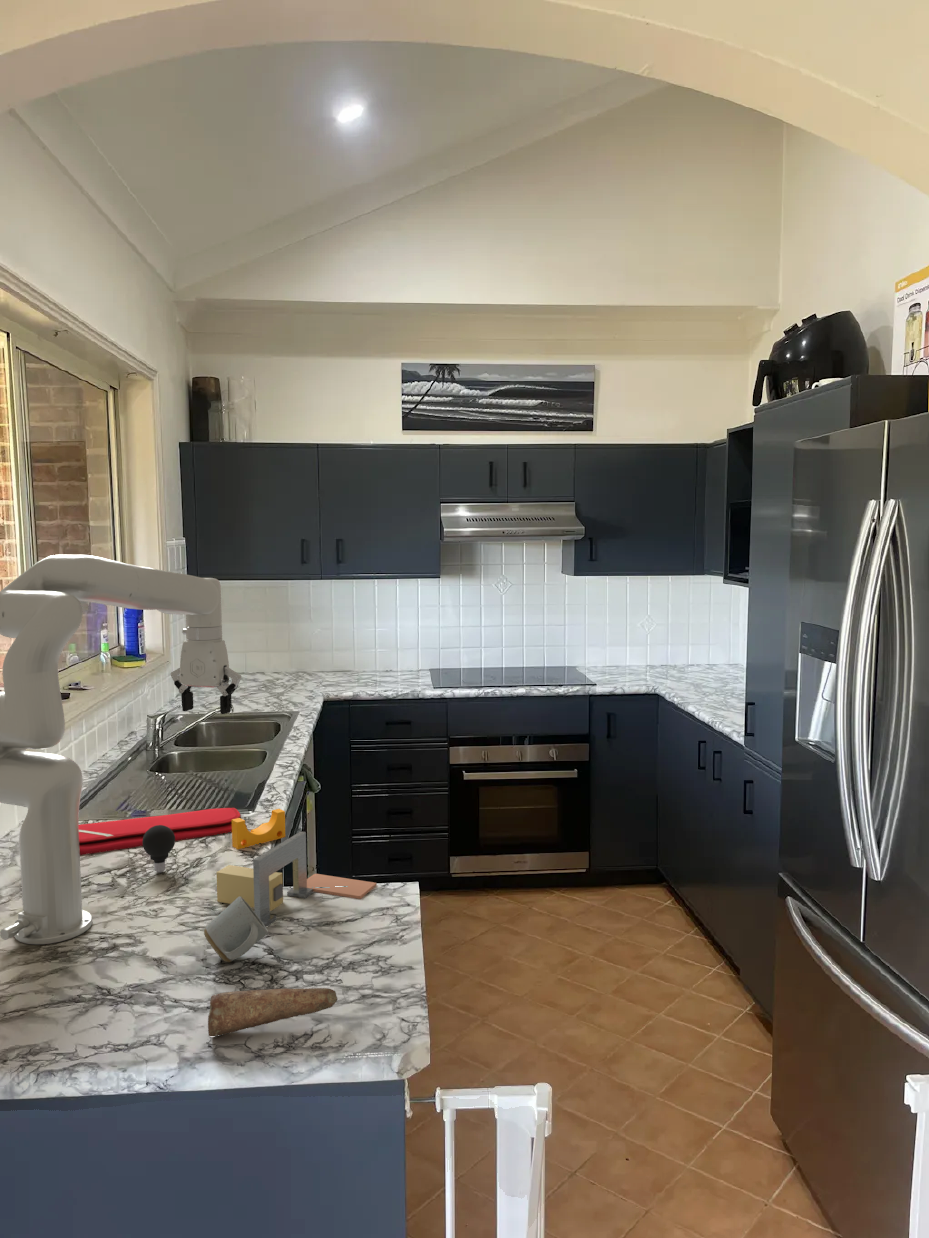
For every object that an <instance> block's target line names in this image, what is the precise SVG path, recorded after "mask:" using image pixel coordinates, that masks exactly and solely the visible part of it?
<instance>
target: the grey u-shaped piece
mask: <svg viewBox="0 0 929 1238" xmlns="http://www.w3.org/2000/svg"><path fill="white" fill-rule="evenodd" d="M290 863H292V884H293V885H292V886H293V887H292V888H291V889H290V890H288V891H286V895H287V897H294V898H300V899H303V900H304V899H306V898H309V896H311V895H312V894H314V892H313V889H310V888H307V879H308V877H307V876H308V875H307V873H308V872H307V870H308V869H307V833H306V831H299V832H297V833H296V834H294V835H292V836H290V837H289V838H287V839H285V840H284V841H282V842H280V843H279V844H277V845H276V846H274V847H272V848H270V849H268V850H267V851H265V852H263V853H262V854H260V855H258V856H256V857H255V858H253V859H252V864H253V865H252V866H253V867H252V868H253V873H254V908H253V909H254V910H253V911H254V912H255V913H256V915H257V916H258V917H259V918H260V920H261V921H262V922H263V924H264V925H265V927H266V926H268V927H269V926H271V923H272V924H273V923H275V922H276V921H277V920H276V919H277V915H275V914H270V913H271V911H270V901H269V876H270V875H272V874H273V873H275V872H278V871H279V870H281V869H283V868H284V867H285V866H287V865H289V864H290ZM275 920H276V921H275Z"/></svg>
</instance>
